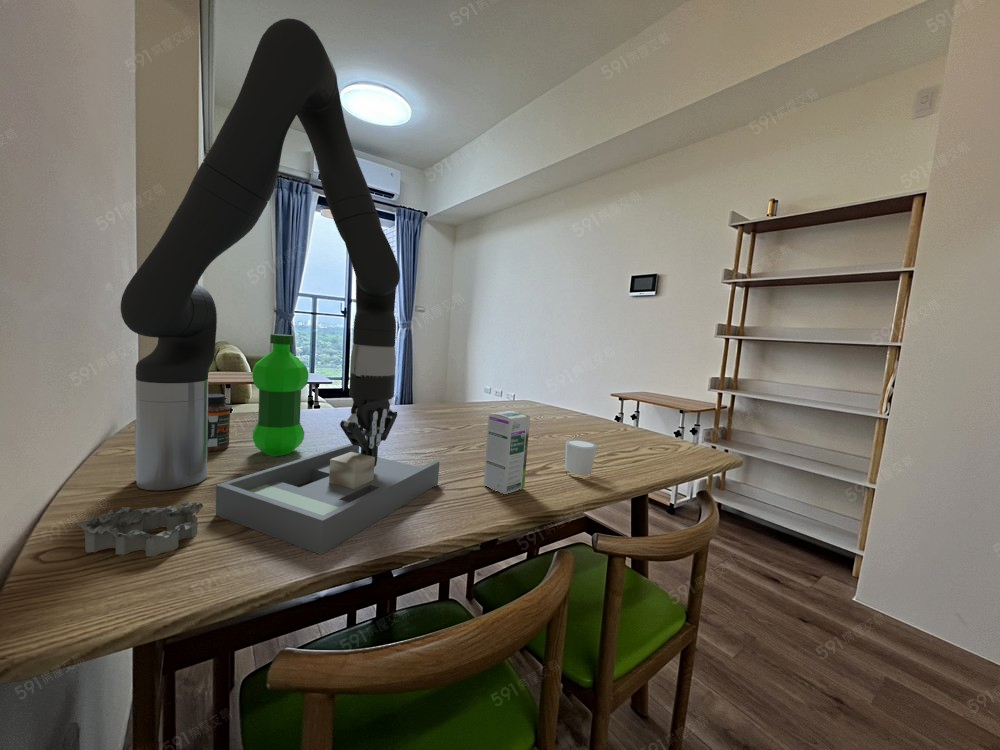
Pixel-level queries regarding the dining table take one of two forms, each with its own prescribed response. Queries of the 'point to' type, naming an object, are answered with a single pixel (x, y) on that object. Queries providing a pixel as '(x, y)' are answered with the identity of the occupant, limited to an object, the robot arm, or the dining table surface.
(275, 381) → the plastic bottle
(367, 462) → the block
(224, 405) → the supplement bottle
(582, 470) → the white cylinder
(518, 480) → the syrup box
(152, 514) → the grey cookie cutter
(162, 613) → the dining table surface
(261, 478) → the box
